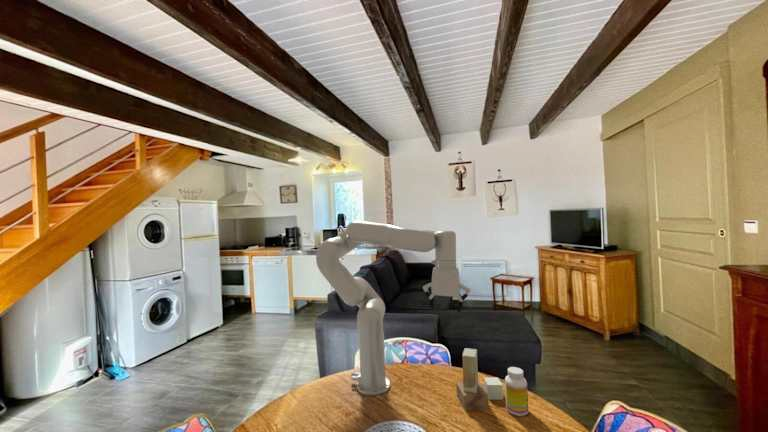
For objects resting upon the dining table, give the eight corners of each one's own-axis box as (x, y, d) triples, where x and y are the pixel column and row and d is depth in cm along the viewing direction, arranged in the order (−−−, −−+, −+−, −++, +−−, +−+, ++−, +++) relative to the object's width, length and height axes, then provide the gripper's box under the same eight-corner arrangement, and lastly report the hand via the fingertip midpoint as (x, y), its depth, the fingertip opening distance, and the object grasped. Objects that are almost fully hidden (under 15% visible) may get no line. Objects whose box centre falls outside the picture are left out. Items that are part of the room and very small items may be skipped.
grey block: (488, 399, 105) (487, 385, 105) (484, 391, 110) (483, 377, 110) (503, 399, 105) (502, 384, 105) (498, 391, 110) (498, 377, 110)
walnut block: (464, 411, 100) (463, 395, 100) (457, 396, 108) (456, 382, 108) (488, 408, 101) (487, 393, 101) (479, 395, 109) (478, 380, 109)
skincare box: (465, 381, 108) (464, 347, 108) (478, 384, 107) (477, 348, 107) (463, 391, 102) (461, 355, 102) (476, 394, 101) (475, 356, 101)
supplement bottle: (531, 417, 95) (529, 376, 95) (508, 416, 96) (506, 374, 96) (525, 404, 101) (523, 365, 102) (504, 403, 103) (502, 364, 103)
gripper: (420, 264, 113) (420, 311, 113) (469, 266, 107) (469, 316, 107) (425, 261, 120) (425, 305, 120) (470, 263, 114) (471, 309, 114)
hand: (446, 310), depth 114 cm, fingers open, 9 cm apart
